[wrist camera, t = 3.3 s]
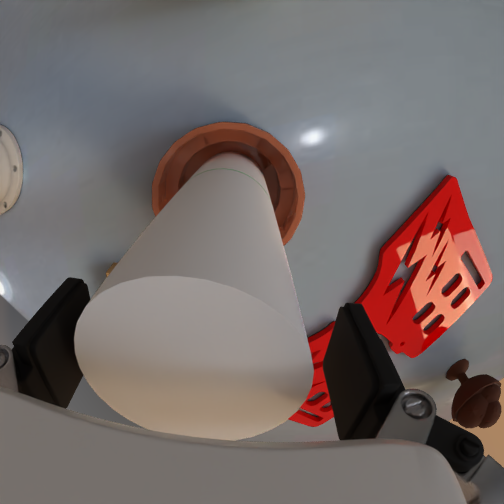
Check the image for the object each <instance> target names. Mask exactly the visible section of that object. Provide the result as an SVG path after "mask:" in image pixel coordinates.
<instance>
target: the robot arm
mask: <svg viewBox="0 0 504 504" xmlns="http://www.w3.org/2000/svg"><path fill="white" fill-rule="evenodd" d="M22 179H23V163H22V156H21V152H20V149H19V146H18V143H17V141H16V139H15V137H14V136H13V134H12V133H11V132H10V131H9V130H8V128H6V127H4V126H3V125H0V214H2V213H4V212H6V211H8V210H9V209H10V208H11V207H12V206H13V205H14V204H15V202H16V200H17V199H18V196H19V193H20V191H21V186H22ZM89 301H90V296H89V291H88V286H87V284H85V283H84V281H83V280H82V279H77V278H67V279H66V280H65V281H64V282H63V283H62V285H61V286H60V287H59V288H58V289H57V290H56V291H55V292H54V293H53V294H52V296H51V297H50V298H49V299H48V300H47V301H46V302H45V303H44V304H43V306H42V307H41V308H40V309H39V310H38V311H37V313H36V314H35V315H34V316H33V317H32V318H31V320H30V321H29V322H28V323H27V324H26V326H25V327H24V328H23V329H22V330H21V332H20V333H19V334H18V335H17V337H16V338H15V339H14V341H13V342H12V343H13V345H14V348H13V349H12V350H11V349H10V348H9V347H8V346H6V345H0V504H504V468H503V467H502V466H501V465H500V464H499V463H497V462H496V461H495V460H494V459H493V458H492V457H491V456H489V455H488V456H487V457H485V456H484V455H483V454H484V449H483V445H482V442H481V441H480V439H479V438H478V437H477V436H475V435H474V434H472V433H470V432H468V431H466V430H464V429H462V428H460V427H458V426H456V425H454V424H452V423H450V422H448V421H446V420H444V419H442V418H440V417H439V416H437V415H436V410H437V408H436V404H435V402H434V400H433V398H432V397H431V396H430V395H429V394H427V393H425V392H424V391H421V390H418V389H407V390H405V388H404V386H403V383H402V381H401V379H400V377H399V375H398V373H397V371H396V368H395V366H394V364H393V362H392V360H391V358H390V356H389V354H388V352H387V350H386V348H385V346H384V344H383V342H382V340H381V339H379V337H378V335H377V333H376V331H375V329H374V327H373V325H372V323H371V321H370V319H369V317H368V315H367V313H366V311H365V309H364V307H363V305H362V304H360V303H346V304H345V305H344V307H340V309H339V311H338V315H337V318H336V322H335V325H334V328H333V331H332V335H331V338H330V341H329V344H328V347H327V350H326V353H325V356H324V359H323V371H324V376H325V380H326V384H327V388H328V392H329V396H330V401H331V405H332V409H333V414H334V418H335V423H336V427H337V432H338V436H339V439H340V440H339V441H321V442H251V441H233V440H221V439H210V438H200V437H192V436H184V435H177V434H171V433H164V432H159V431H153V430H148V429H142V428H137V427H133V426H128V425H123V424H119V423H115V422H111V421H107V420H103V419H99V418H95V417H92V416H88V415H84V414H81V413H78V412H74V411H71V410H68V409H66V408H67V407H68V405H69V403H70V400H71V399H72V397H73V395H74V393H75V390H76V388H77V387H78V385H79V383H80V381H81V379H82V377H83V373H82V371H81V369H80V367H79V364H78V361H77V358H76V354H75V346H74V335H75V330H76V324H77V321H78V319H79V318H80V316H81V314H82V312H83V310H84V308H85V307H86V305H87V304H88V303H89Z"/></svg>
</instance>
